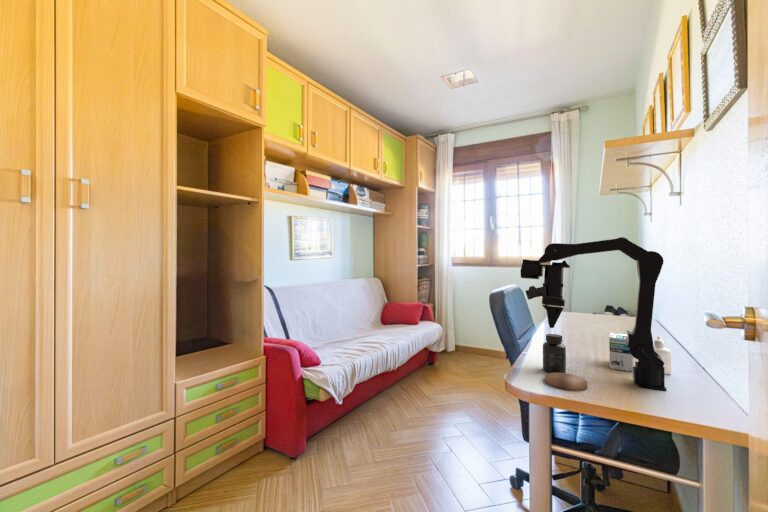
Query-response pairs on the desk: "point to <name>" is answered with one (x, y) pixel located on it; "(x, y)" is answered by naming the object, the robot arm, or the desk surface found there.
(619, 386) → the desk surface
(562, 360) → the supplement bottle
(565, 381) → the walnut coaster
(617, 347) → the light bulb box
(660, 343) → the eye dropper bottle
